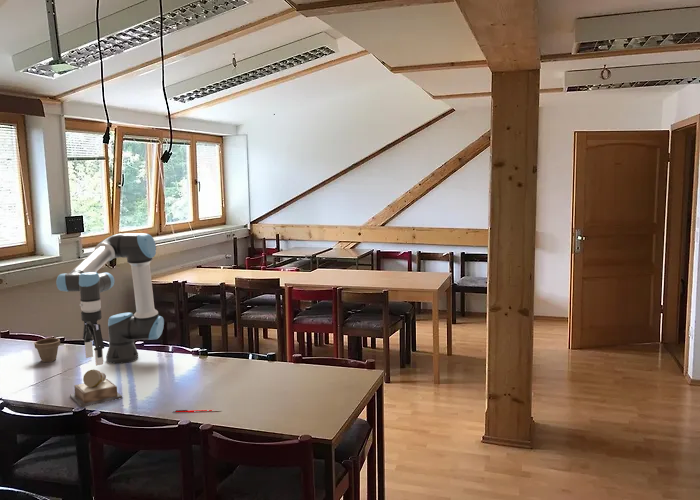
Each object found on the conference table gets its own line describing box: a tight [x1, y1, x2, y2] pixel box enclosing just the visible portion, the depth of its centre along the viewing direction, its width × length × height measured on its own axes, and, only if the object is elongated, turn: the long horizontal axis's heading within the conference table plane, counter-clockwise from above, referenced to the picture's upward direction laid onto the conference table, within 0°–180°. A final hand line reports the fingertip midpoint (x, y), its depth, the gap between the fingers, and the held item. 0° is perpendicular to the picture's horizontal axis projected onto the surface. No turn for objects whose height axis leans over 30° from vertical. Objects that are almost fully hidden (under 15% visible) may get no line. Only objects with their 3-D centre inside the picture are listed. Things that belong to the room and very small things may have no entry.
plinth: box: [69, 378, 123, 408], centre depth 245 cm, size 16×16×5 cm
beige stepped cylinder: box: [82, 369, 107, 387], centre depth 245 cm, size 8×10×10 cm
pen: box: [174, 409, 213, 413], centre depth 229 cm, size 1×19×1 cm, turn 92°
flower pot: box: [34, 337, 61, 363], centre depth 298 cm, size 12×11×10 cm
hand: (94, 361), depth 244 cm, fingers open, 13 cm apart
